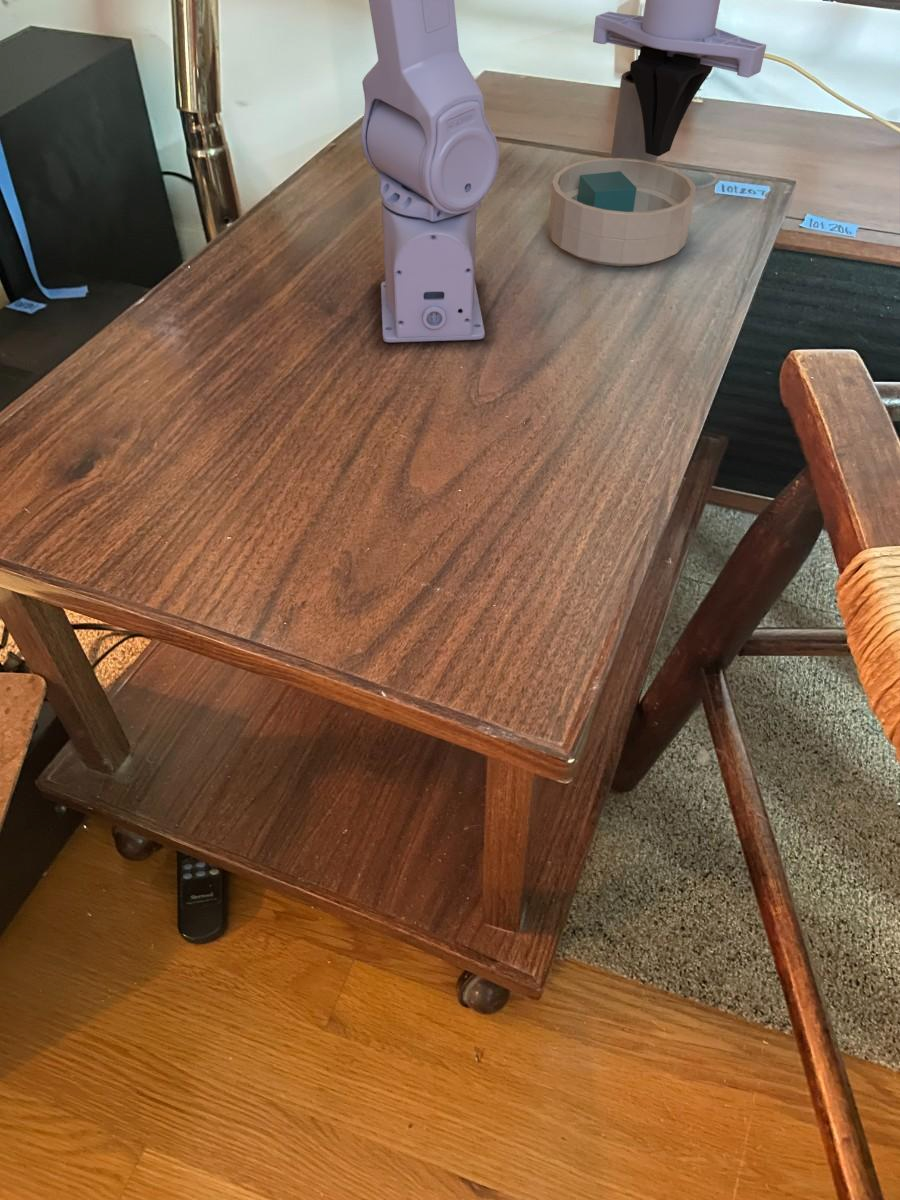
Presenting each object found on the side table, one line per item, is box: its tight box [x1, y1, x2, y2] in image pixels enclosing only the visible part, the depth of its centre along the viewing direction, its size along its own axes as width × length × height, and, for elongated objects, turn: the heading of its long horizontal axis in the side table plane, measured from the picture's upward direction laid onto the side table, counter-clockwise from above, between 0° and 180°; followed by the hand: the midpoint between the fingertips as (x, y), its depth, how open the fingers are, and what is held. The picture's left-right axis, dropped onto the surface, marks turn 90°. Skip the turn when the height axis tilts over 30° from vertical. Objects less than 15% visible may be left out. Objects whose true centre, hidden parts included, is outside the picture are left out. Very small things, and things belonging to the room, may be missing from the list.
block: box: [577, 171, 637, 212], centre depth 82 cm, size 4×4×4 cm
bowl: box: [547, 157, 697, 267], centre depth 81 cm, size 13×13×5 cm
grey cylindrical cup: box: [610, 70, 658, 163], centre depth 87 cm, size 4×4×10 cm
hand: (657, 151), depth 77 cm, fingers closed
